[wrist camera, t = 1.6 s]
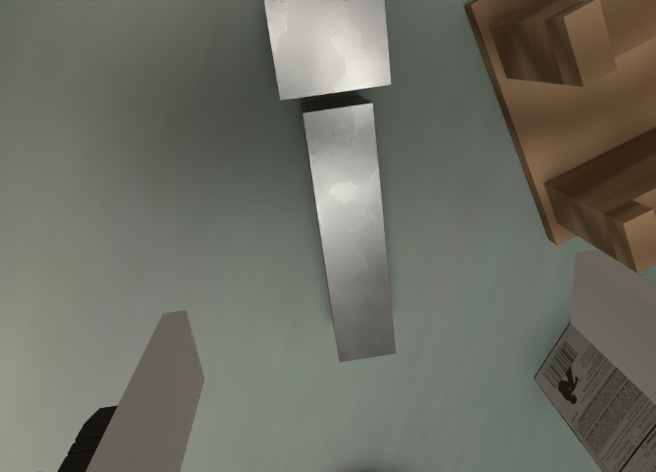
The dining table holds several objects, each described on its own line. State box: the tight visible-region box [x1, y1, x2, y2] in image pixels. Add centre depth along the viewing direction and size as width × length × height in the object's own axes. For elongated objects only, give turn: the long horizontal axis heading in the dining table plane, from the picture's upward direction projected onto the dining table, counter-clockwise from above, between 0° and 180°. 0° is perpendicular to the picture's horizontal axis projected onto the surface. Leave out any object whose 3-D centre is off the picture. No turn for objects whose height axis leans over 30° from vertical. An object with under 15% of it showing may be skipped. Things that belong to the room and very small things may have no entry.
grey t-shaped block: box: [264, 0, 396, 362], centre depth 27 cm, size 20×6×4 cm, turn 7°
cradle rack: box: [465, 0, 656, 273], centre depth 25 cm, size 16×9×8 cm, turn 27°
